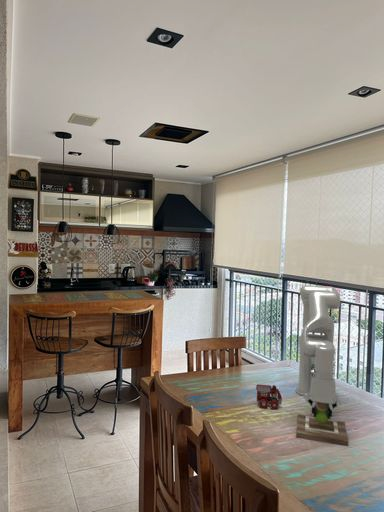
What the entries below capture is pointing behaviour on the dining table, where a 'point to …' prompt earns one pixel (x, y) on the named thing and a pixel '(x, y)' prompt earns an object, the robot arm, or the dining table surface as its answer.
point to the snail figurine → (321, 412)
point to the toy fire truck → (268, 396)
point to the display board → (321, 430)
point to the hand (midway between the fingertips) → (321, 416)
